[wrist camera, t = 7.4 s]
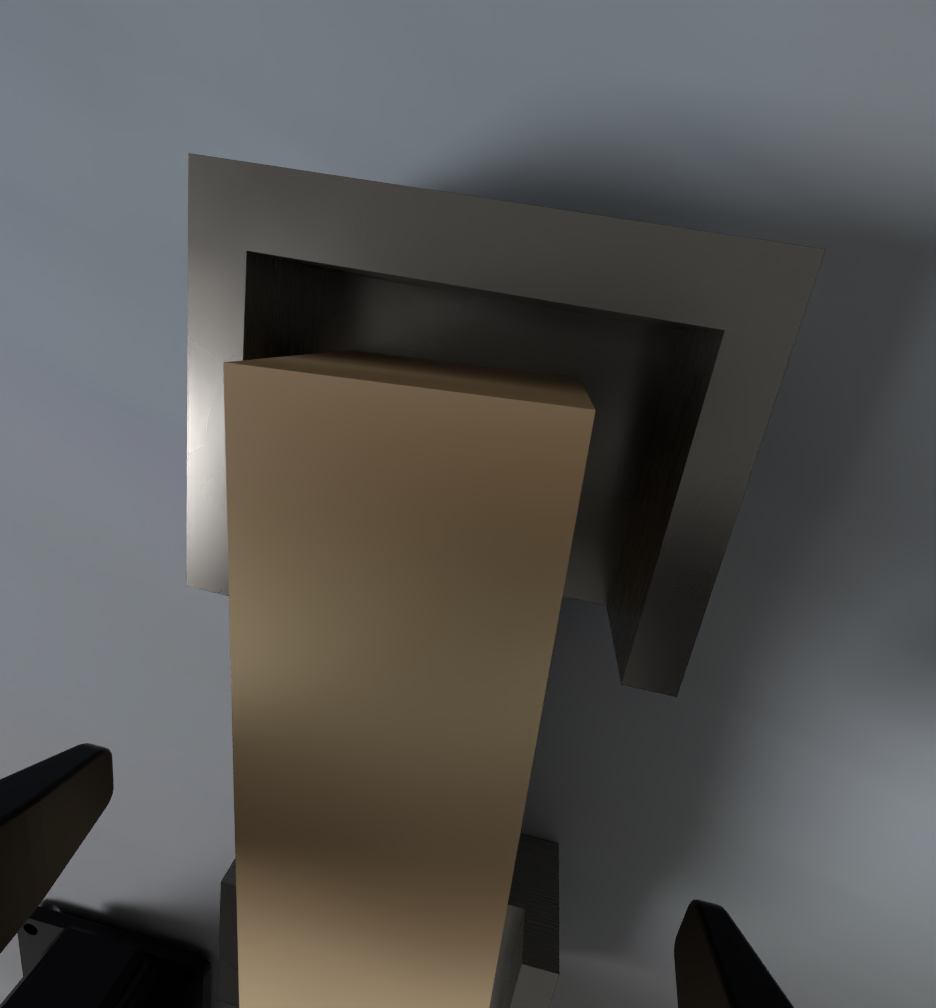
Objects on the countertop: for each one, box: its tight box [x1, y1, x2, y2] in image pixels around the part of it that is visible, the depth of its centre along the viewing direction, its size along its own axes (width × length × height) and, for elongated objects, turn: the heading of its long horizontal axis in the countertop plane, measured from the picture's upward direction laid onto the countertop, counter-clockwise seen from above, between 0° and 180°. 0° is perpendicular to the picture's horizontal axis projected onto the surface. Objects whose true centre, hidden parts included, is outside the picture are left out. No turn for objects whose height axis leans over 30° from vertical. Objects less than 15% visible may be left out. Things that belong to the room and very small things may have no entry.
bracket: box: [187, 153, 825, 697], centre depth 10 cm, size 6×8×4 cm
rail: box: [223, 350, 595, 1008], centre depth 10 cm, size 14×4×4 cm, turn 174°
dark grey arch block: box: [217, 834, 559, 1008], centre depth 14 cm, size 4×8×3 cm, turn 81°
